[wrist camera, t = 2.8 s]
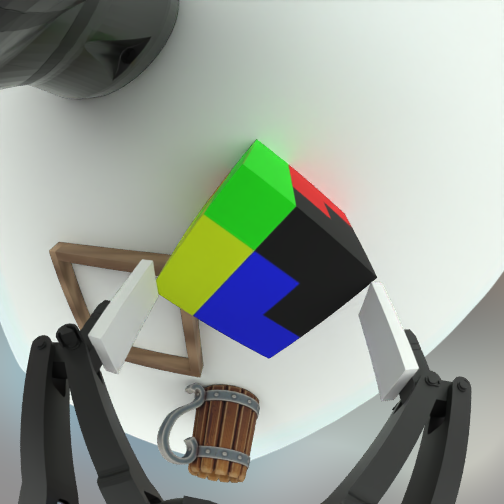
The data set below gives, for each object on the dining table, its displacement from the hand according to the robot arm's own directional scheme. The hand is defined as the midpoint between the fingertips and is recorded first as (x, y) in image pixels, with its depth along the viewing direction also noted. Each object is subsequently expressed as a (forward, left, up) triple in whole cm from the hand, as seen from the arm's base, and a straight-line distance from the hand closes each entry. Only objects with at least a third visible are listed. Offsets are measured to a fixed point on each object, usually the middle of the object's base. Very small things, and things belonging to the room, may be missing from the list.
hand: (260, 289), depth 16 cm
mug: (+31, -5, -10) cm, 33 cm away
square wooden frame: (+14, -16, -10) cm, 23 cm away
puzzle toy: (0, 0, -10) cm, 10 cm away
